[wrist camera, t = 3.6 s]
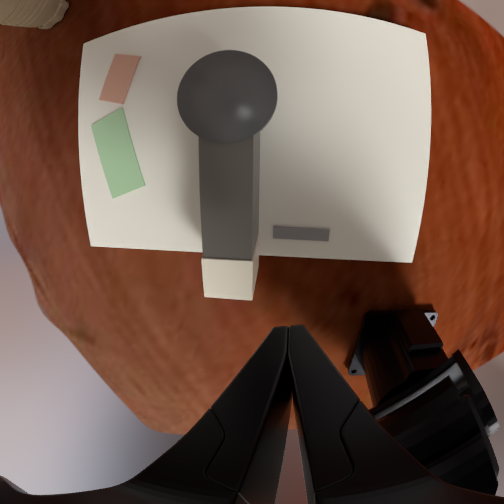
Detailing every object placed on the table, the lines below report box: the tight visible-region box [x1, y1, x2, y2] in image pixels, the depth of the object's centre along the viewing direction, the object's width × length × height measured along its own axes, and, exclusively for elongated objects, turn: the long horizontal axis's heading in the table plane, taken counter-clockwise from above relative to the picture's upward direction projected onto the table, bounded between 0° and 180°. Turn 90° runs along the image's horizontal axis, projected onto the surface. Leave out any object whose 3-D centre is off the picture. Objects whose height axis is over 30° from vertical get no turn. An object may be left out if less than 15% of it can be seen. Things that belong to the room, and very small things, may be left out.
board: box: [78, 7, 431, 263], centre depth 14 cm, size 15×22×1 cm
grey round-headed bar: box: [177, 50, 278, 300], centre depth 12 cm, size 11×4×4 cm, turn 0°
